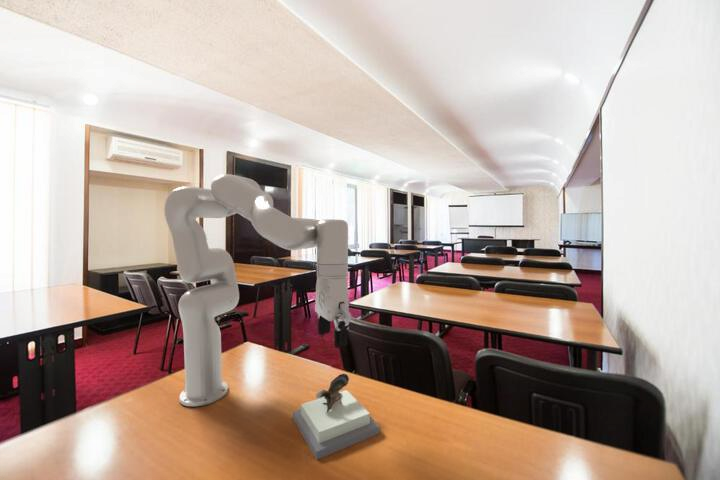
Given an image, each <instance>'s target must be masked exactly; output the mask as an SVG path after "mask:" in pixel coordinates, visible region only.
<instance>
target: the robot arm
mask: <svg viewBox="0 0 720 480" xmlns="http://www.w3.org/2000/svg"><path fill="white" fill-rule="evenodd" d="M163 211H164V217H165V220H166V224H167V226H168V229H169V231H170V235H171V238H172V243H173V244H172V245H173V248H174V254H175V261H176V266H177V270H178V274H179V276H180V279H181V280H182V281H183V282H184V283H187V284H196V283H197V284H198V283H201V282H206V281H210V284H207V285H202V286H198V287H194V288H192V289H189V290H187V291H185V292H184V294H182V295H181V297H180V299H179V301H178V306H177V307H178V312H179V317H180V320H181V326H182V332H183V353H184V355H183V357H184V385H185V386H184V387H185V389H183V390H182V391H181V392H180V394H179V403H180V404H181V405H183V406H186V407H193V408H194V407H200V406H201V407H202V406H205V405H209V404H212V403H215V402H217V401H218V400H220V399H221V398H223V397H224V396H225V395H226V394H227V392H228V390H229V386H228V383H227V382H226V381H224V380H223V372H222V371H223V369H222V367H223V365H222V364H223V363H222V361H223V360H222V333H221V330H220V326H219V325H218V323H217V322H216V320H215V317H217V316H219V315H222V314H226V313H227V312H230V311H232V310H233V309H235V308H236V307H237V305H238V304H239V300H240V291H239V285H238V280H237V274H236V268H235V267H236V266H235V264H234V260H233V258H232V256H231V254H230V253H229V252H228V250H226V249H223V248H220V247H212V248H210V247H209V245H208V241H207V240H208V239H207V235H206V232H205V230H204V229H203V226H201V224H200V223H199V222H198V220H197V218H200V219H203V218H205V219H223V218H228V217H230V216H233V215H236V214H238V215H240V216H242V217H243V218H244V219H246V220H248V221H250V222H251V225H252V226H253V228H254V230H255V231H256V232H257V233H258V234H259V235H260V236H261V237H262V238H264V239H266V240H267V241H269V242H270V243H272V244H274V245H275V246H278V247H279V248H282V249H285V250H288V251H297V250H303V249H304V250H305V249H311V248H313V249H314V248H316V283H315V294H314V295H315V297H314V299H315V301H314V311H315V313H316V315H317V334H318V335H325V334H330V333H331V322H332V321H333V323H334V324H333V325H334V326H335V327H334V328H335V330H334V335H333V337H334V343H333V345H334V347H335V349H338V348H339V349H340V348H342V347H347V346H348V345H349V343H348V341H349V340H348V339H349V330H350V325H351V319H352V314H351V312H350V310H349V287H348V286H349V285H348V278H347V277H348V275H349V225H348V222H347V221H346V220H344V219H335V218H334V219H332V218H331V219H321V220H319V219H314V218H302V217H292V216H289V215H287V214H286V213H284V212H282V211H281V210H279V209H277V208H275V207H274V199H273V196H272V195H270V194H269V193H267V192H266V191H264V190H262V188H261V186H260V184H259V183H258V182H257V181H255V180H254V179H251V178H248V177H244V176H241V175H235V174H231V173H230V174H228V173H227V174H226V173H224V174H220V175H218V176H216V177H215V178H214V179H213V180H212V182H211V183H210V189H209V188H204V187H196V186H181V187H178V188H175V189H173V190H171V192H169V194H168V195H167V197H166V199H165V203H164V208H163ZM339 322H340V323H339Z"/></svg>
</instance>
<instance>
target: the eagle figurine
mask: <svg viewBox="0 0 720 480" xmlns="http://www.w3.org/2000/svg"><path fill="white" fill-rule="evenodd" d="M349 381H350V377H349V375H348V374H347V373H341V374H340V373H339V374H338V375H337V376H336V377H335V378H333V379H332V380H331V381H330V384H329V388H328V389H327V390H326V389H322V390H320V391H318V392H317V393H316V395H315V396H316V399H319V398H322V397H324V399H326V400H327V403H323V405H325V404H326V405H327V412H328V411H329V410H330V409H331V407H332V405H333V404H334V403H335V402H338V403H340V404H341V405H342V402H341V396H340V397H338V395H337V394H342V393H339V392H340V390H342V389H343V388H344V387H347V386H348V384H349Z"/></svg>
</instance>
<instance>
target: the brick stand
mask: <svg viewBox="0 0 720 480" xmlns="http://www.w3.org/2000/svg"><path fill="white" fill-rule="evenodd" d="M338 392H339V393H342V394H337V395H338V397H340V396H341V402H342V405H341V404H340V403H338V402H335V403H334V404H333V405H332V407H331V409H330V410H329V411H328V412H327V405H326V404H325V405H323V403H327V400H326V399H324V397H322V398H316V399H313V400H310V401H306V402H304V403H301V404H300V408H299V409H295V410H293V411H292V419H293V421H294V423H295V424H296V426H297V428H298V430H299V432H300V434H301V435H302V437H303V439H304V440H305V443H306V444H307V445H308V446H307V447H308V448H309V450H310V451H311V453H312V455H313V456H314V459H315V460H316V461H317V460H320V459H322V458H325V457H328V456H329V455H331V454H335V453H336V452H339V451H341V450H343V449H346V448H348V447H351V446H353V445H355V444H358V443H360V442H363V441H365V440H367V439H370V438H373V437H375V436H377V435H379V434H380V433H381V431H380V430H381V427H380V425H379V424H378V423H377V421H376V420H374V419H373V417H371V413H370V411H368V410H367V409H366V408H365V407H364V406H363V405H362V404H361V403H360V402H359V401H358V399H356V398H355V397H354V396H353V395H352V393H351V392H350V391H348V390H347V389H345V390H343V391H338Z"/></svg>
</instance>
